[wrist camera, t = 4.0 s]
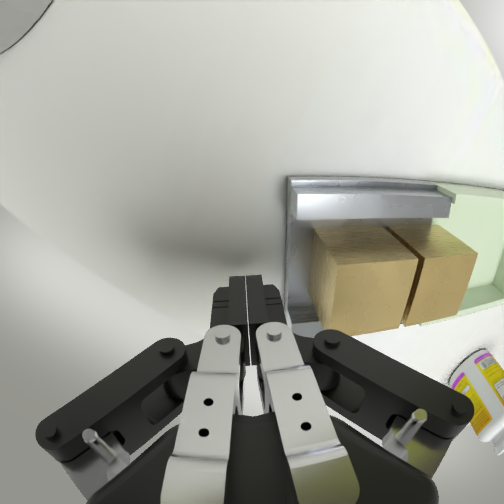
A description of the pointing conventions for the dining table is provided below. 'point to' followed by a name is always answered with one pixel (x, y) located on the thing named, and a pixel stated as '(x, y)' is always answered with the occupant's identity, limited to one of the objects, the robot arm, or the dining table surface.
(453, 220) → the tray
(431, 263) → the brass block
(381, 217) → the slot rail
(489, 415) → the supplement bottle
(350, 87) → the dining table surface
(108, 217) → the dining table surface
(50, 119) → the dining table surface
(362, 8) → the dining table surface
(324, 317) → the brass block
